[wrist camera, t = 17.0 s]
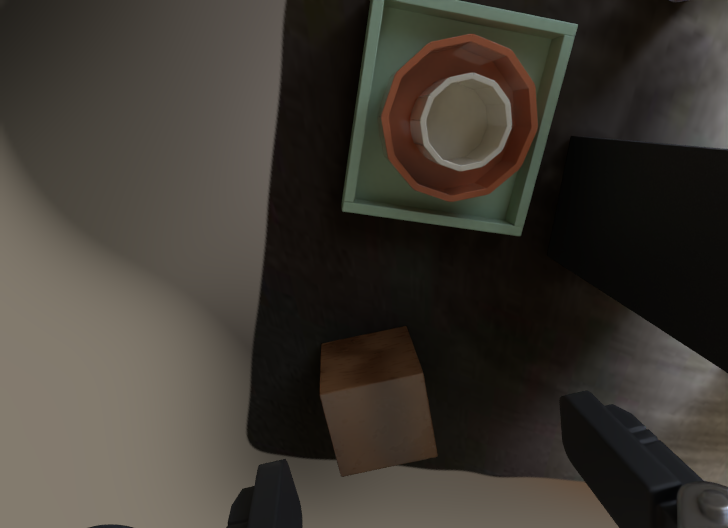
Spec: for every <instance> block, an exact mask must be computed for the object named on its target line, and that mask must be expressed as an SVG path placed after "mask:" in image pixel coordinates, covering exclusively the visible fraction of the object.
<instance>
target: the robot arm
mask: <svg viewBox="0 0 728 528" xmlns="http://www.w3.org/2000/svg"><path fill="white" fill-rule="evenodd" d="M560 416H561V429H562V441H563V445H564V449H565V451H566V454H567V456H568V458H569V460H570V462H571V463H572V464H573V466H574V467H575V469H576V470H577V471H578V473H579V474H580V475H581V477H582V478H583V479H584V481H585V482H586V483H587V485H588V486H589V487H590V489H591V490H592V492H593V493H594V494H595V495H596V497H597V498H598V500H599V501H600V502H601V504H602V505H603V506H604V508H605V509H606V510H607V512H608V513H609V514H610V516H611V517H612V518H613V520H614V521H615V523H616V524H617V525H618V526H619V528H728V487H726V486H723V485H720V484H717V483H713V482H707V481H703V480H702V479H701V478H700V477H699V476H698V475H697V474H696V473H695V472H694V471H693V470H692V469H690V468H689V467H688V466H687V465H686V464H685V463H684V462H683V461H682V460H681V459H680V458H679V457H678V456H676V455H675V454H674V453H673V452H672V451H671V450H670V449H669V448H668V447H667V446H666V445H665V444H664V443H663V442H661V441H660V440H658V439H657V437H656V436H655V435H654V434H653V433H652V432H651V431H650V430H649V429H648V430H647V429H646V427H645V426H644V425H643V424H642V423H641V422H640V421H639V420H638V419H637V418H636V417H635V416H634V415H632V414H631V413H629V412H627V411H625V410H623V409H621V408H619V407H617V406H615V405H613V404H611V405H607V406H604V405H603V404H602V403H601V402H600V401H599V400H598V399H597V398H596V397H595V396H594V395H593V394H592V393H591V392H589V391H582V392H578V393H573V394H569V395H565V396H561V397H560ZM226 528H302V511H301V505H300V501H299V497H298V494H297V491H296V488H295V485H294V481H293V478H292V475H291V472H290V468H289V465H288V463H287V461H286V459H283V460H279V461H275V462H270V463H265V464H261V465H259V467H258V470H257V475H256V481H255V486H252V487H248V488H244V489H242V491H241V492H240V494H239V495H238V497H237V498H236V500H235V501H234V503H233V504H232V506H231V511H230V515H229V519H228V526H227V527H226Z"/></svg>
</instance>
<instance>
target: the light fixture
mask: <svg viewBox="0 0 728 528" xmlns="http://www.w3.org/2000/svg"><path fill="white" fill-rule="evenodd" d="M547 256H549V257H550V258H552V259H553V260H555V261H556V262H558V263H559V264H561V265H562V266H564V267H565V268H567V269H569V270H570V271H572V272H573V273H575V274H576V275H578V276H579V277H581V278H582V279H584V280H585V281H587V282H589V283H590V284H592V285H593V286H595V287H596V288H598V289H599V290H601V291H602V292H604V293H605V294H607V295H609V296H610V297H612V298H613V299H615V300H616V301H618V302H619V303H621V304H622V305H624V306H625V307H627V308H629V309H630V310H632V311H633V312H635V313H636V314H638V315H639V316H641V317H642V318H644V319H645V320H647V321H649V322H650V323H652V324H653V325H655V326H656V327H658V328H659V329H661V330H662V331H664V332H665V333H667V334H669V335H670V336H672V337H673V338H675V339H676V340H678V341H679V342H681V343H682V344H684V345H685V346H687V347H689V348H690V349H692V350H693V351H695V352H696V353H698V354H699V355H701V356H702V357H704V358H705V359H707V360H709V361H710V362H712V363H713V364H715V365H716V366H718V367H719V368H721V369H722V370H724V371H725V372H727V373H728V149H720V148H708V147H697V146H686V145H674V144H663V143H652V142H640V141H629V140H618V139H607V138H593V137H578V136H571V139H570V144H569V149H568V154H567V159H566V164H565V169H564V174H563V179H562V184H561V189H560V194H559V199H558V204H557V209H556V214H555V219H554V224H553V229H552V234H551V239H550V244H549V249H548V254H547Z"/></svg>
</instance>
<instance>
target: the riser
mask: <svg viewBox="0 0 728 528" xmlns="http://www.w3.org/2000/svg"><path fill="white" fill-rule="evenodd" d="M319 396H320V400H321V403H322V407H323V411H324V414H325V418H326V422H327V426H328V429H329V433H330V437H331V441H332V444H333V448H334V452H335V456H336V459H337V463H338V467H339V470H340V474H341V476H342V477H344V476H348V475H353V474H358V473H362V472H367V471H372V470H377V469H381V468H386V467H391V466H395V465H400V464H405V463H410V462H414V461H419V460H424V459H429V458H433V457H437V456H438V453H437V448H436V442H435V436H434V430H433V425H432V419H431V413H430V408H429V402H428V396H427V390H426V385H425V379H424V373H423V370H422V368H421V365H420V362H419V359H418V357H417V354H416V351H415V348H414V346H413V343H412V340H411V337H410V335H409V332H408V329H407V327H406V326H403V327H399V328H394V329H389V330H384V331H379V332H375V333H370V334H365V335H360V336H356V337H351V338H346V339H341V340H337V341H332V342H327V343H322V344H321V363H320V390H319Z"/></svg>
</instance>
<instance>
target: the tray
mask: <svg viewBox="0 0 728 528" xmlns="http://www.w3.org/2000/svg"><path fill="white" fill-rule="evenodd" d="M577 26H578V25H577V24H573V23H568V22H563V21H558V20H553V19H548V18H543V17H538V16H533V15H528V14H523V13H518V12H513V11H508V10H503V9H498V8H493V7H488V6H483V5H478V4H473V3H468V2H463V1H458V0H370V7H369V14H368V21H367V28H366V35H365V42H364V49H363V56H362V63H361V70H360V77H359V84H358V91H357V98H356V105H355V112H354V119H353V126H352V133H351V140H350V147H349V154H348V161H347V168H346V175H345V182H344V189H343V196H342V203H341V205H342V211H343V212H350V213H357V214H364V215H371V216H379V217H386V218H393V219H400V220H407V221H414V222H421V223H428V224H436V225H443V226H450V227H457V228H464V229H471V230H478V231H485V232H493V233H500V234H507V235H514V236H521V233H522V229H523V226H524V222H525V219H526V215H527V211H528V208H529V204H530V200H531V196H532V193H533V189H534V185H535V182H536V178H537V174H538V171H539V167H540V163H541V159H542V156H543V152H544V148H545V145H546V141H547V137H548V134H549V130H550V126H551V123H552V119H553V115H554V111H555V108H556V104H557V100H558V97H559V93H560V89H561V86H562V82H563V78H564V75H565V71H566V67H567V63H568V60H569V56H570V52H571V49H572V45H573V41H574V37H575V34H576V30H577ZM466 34H475V35H478V36H480V37H483V38H485V39H487V40H490V41H492V42H495V43H497V44H500V45H502V46H504V47H507V48H509V49H511V50H512V51H513V52H514V54H515V55H516V57H517V58H518V60H519V61H520V63H521V64H522V66H523V67H524V69H525V70H526V72H527V73H528V75H529V76H530V78H531V79H532V81H533V82H534V84H535V87H536V103H537V118H538V130H537V132H536V134H535V137H534V139H533V141H532V143H531V146H530V148H529V150H528V153H527V155H526V157H525V160H524V162H523V164H522V166H521V167H520V169H519V170H518V171H517V172H515V173H514V174H513V175H512V176H511V177H509V178H508V179H507V180H506V181H505V182H503V183H502V184H501V185H500V186H499V187H497V188H496V189H495V190H494V191H493V192H491V193H490V194H488V195H484V196H479V197H474V198H469V199H465V200H460V201H455V202H448V201H445V200H442V199H439V198H436V197H433V196H430V195H427V194H424V193H421V192H418V191H415V190H414V189H412V188H411V187H410V186H409V185H408V184H407V183H406V182H405V181H404V180H403V178H402V177H401V176H400V175H399V174H398V172H397V171H396V170H395V169H394V168H393V166H392V165H391V164H390V163H389V162H388V160H387V159H386V158H385V157H384V155H383V150H382V145H381V141H380V137H379V129H378V122H377V114H378V111H379V108H380V104H381V100H382V97H383V94H384V92H385V89H386V87H387V84H388V81H389V78H390V77H391V75H392V74H393V73H394V72H396V71H397V70H398V69H399V68H400V67H401V66H402V65H403V64H404V63H405V62H406V61H407V60H409V59H410V58H411V57H412V56H413V55H414V54H415V53H416V52H417V51H418V50H419V49H421V48H422V47H423V46H425V45H426V44H427V43H429V42H432V41H437V40H442V39H447V38H452V37H456V36H461V35H466Z"/></svg>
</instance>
